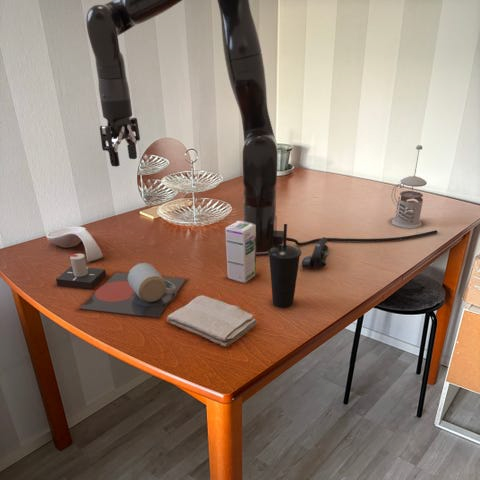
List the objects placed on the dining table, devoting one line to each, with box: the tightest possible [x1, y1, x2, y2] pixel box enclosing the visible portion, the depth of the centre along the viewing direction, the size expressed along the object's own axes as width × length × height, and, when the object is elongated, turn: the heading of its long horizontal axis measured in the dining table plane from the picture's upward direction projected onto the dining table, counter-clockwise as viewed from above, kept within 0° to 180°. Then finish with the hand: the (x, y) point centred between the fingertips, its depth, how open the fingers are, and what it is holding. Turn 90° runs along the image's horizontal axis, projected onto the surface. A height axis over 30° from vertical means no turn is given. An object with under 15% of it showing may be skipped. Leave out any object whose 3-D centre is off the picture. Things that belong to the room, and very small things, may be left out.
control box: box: [55, 265, 107, 290], centre depth 130 cm, size 10×8×2 cm
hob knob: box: [69, 253, 88, 277], centre depth 128 cm, size 4×4×5 cm
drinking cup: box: [267, 223, 302, 309], centre depth 114 cm, size 8×8×20 cm
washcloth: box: [166, 295, 258, 348], centre depth 110 cm, size 12×18×3 cm, turn 54°
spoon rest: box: [45, 225, 103, 263], centre depth 147 cm, size 24×12×7 cm, turn 43°
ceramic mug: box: [127, 262, 176, 302], centre depth 121 cm, size 11×8×8 cm
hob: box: [79, 271, 187, 319], centre depth 124 cm, size 21×20×1 cm
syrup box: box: [224, 220, 257, 284], centre depth 128 cm, size 6×6×14 cm
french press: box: [391, 144, 428, 229], centre depth 158 cm, size 10×12×25 cm
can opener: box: [301, 236, 329, 269], centre depth 139 cm, size 18×7×6 cm, turn 160°
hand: (124, 162), depth 134 cm, fingers open, 8 cm apart
